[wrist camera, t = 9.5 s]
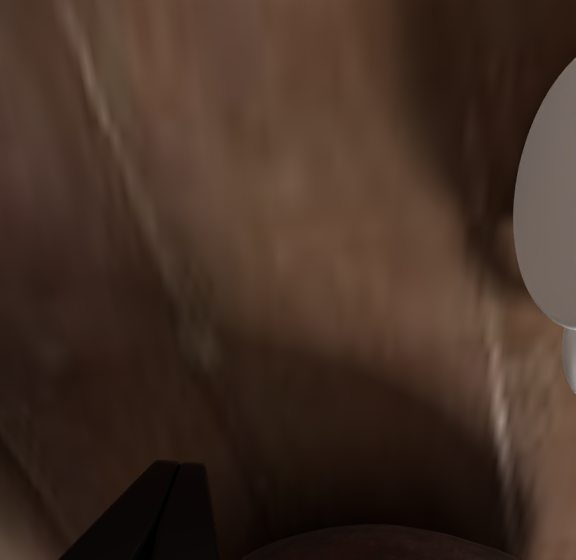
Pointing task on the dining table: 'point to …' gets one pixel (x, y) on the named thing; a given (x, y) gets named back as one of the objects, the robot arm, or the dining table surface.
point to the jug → (375, 545)
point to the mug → (551, 212)
